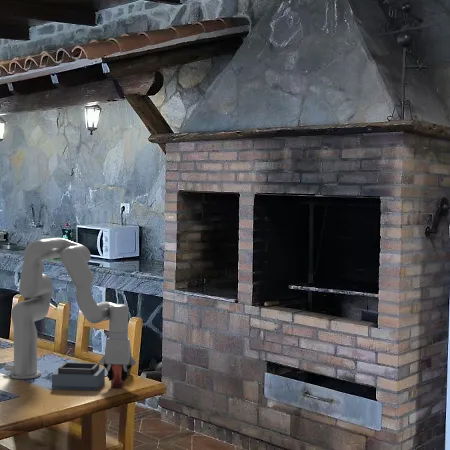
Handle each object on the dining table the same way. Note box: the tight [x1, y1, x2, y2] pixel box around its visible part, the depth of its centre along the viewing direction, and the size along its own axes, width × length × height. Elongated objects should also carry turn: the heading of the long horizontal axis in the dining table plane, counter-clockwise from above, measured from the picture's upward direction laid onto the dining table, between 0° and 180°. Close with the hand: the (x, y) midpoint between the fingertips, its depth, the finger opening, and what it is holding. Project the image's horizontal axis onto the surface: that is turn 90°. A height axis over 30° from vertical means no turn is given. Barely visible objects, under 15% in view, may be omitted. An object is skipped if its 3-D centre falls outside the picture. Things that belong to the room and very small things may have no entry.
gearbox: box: [51, 361, 106, 392], centre depth 284 cm, size 18×13×8 cm
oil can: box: [110, 364, 125, 389], centre depth 283 cm, size 5×5×13 cm
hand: (117, 379), depth 283 cm, fingers closed on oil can, 5 cm apart
